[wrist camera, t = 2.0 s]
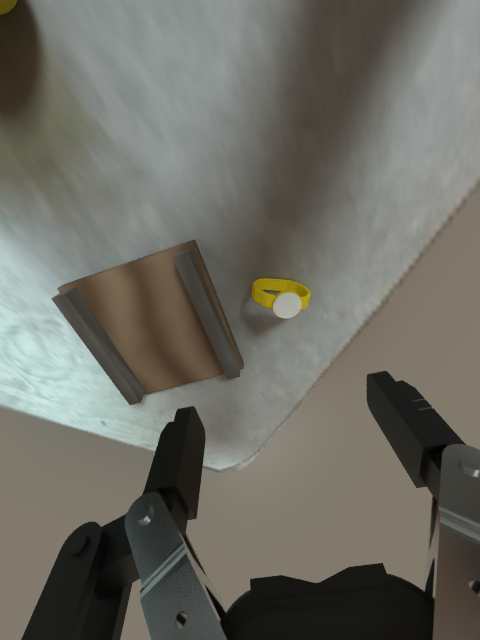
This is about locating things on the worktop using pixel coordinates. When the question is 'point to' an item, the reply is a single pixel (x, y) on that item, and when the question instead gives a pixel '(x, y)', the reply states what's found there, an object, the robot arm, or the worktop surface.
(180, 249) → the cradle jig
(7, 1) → the lemon
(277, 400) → the worktop surface
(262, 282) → the watch
